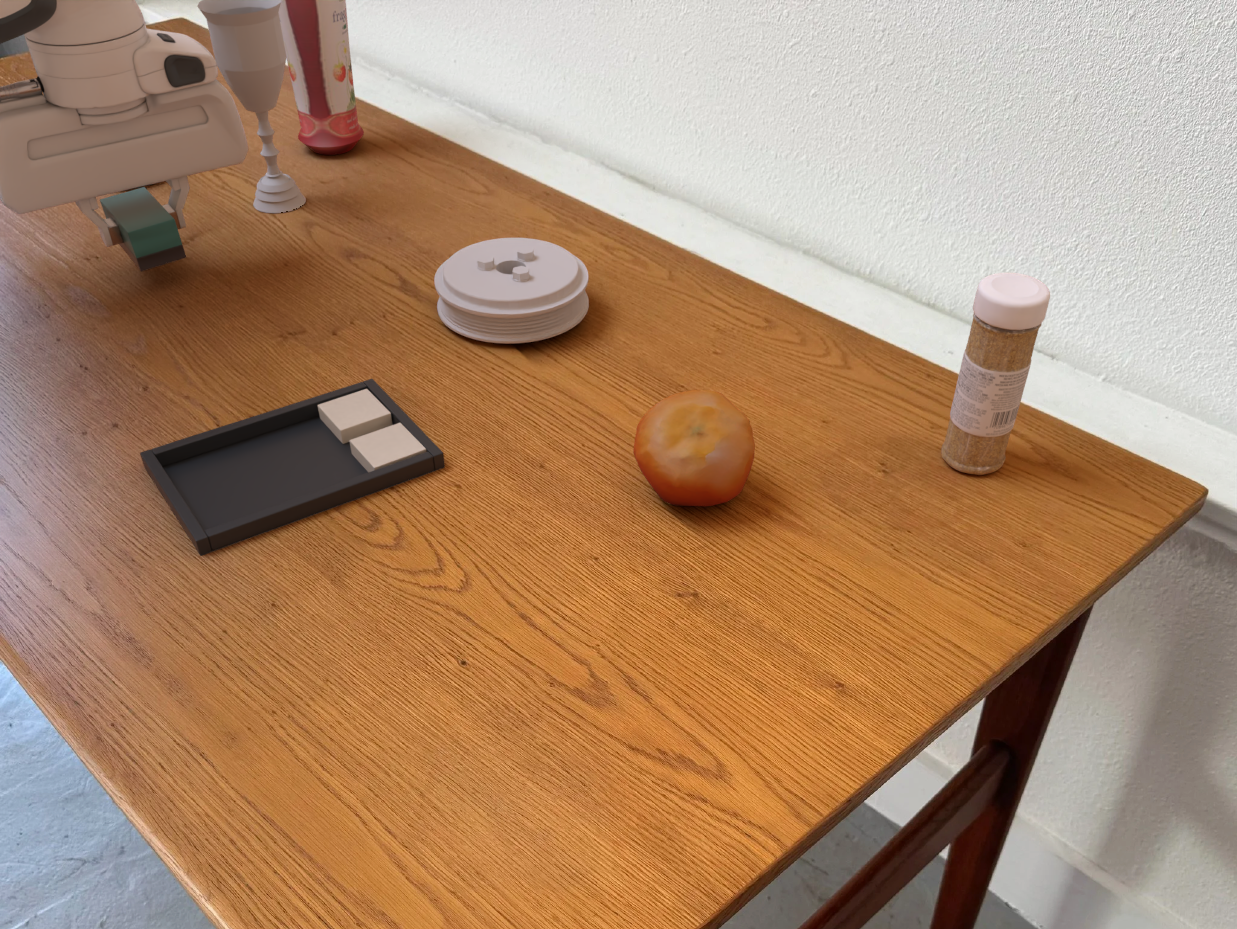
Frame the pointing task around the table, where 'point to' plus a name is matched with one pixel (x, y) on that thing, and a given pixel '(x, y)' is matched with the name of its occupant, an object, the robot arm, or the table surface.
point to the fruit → (695, 448)
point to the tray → (273, 471)
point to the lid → (512, 290)
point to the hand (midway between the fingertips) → (145, 235)
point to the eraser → (144, 228)
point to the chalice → (254, 81)
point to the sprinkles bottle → (994, 370)
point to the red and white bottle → (321, 73)
